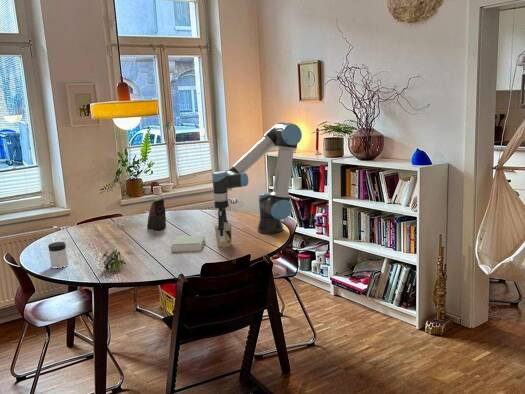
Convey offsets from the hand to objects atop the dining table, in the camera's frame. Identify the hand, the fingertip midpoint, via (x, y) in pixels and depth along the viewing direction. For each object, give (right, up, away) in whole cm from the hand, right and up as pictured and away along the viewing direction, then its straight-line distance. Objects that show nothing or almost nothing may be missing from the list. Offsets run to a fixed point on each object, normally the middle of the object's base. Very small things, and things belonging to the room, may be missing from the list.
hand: (223, 237), depth 278 cm
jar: (-82, -13, -20) cm, 86 cm away
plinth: (-20, -5, +2) cm, 20 cm away
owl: (-46, +2, +45) cm, 65 cm away
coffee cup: (0, -4, +1) cm, 4 cm away
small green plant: (-52, -13, -28) cm, 60 cm away
